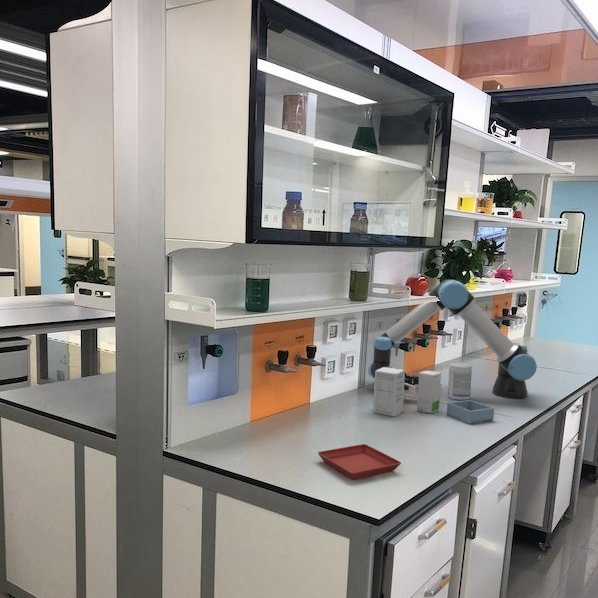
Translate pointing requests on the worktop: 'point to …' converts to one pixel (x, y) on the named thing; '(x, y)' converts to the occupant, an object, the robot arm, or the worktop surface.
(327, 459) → the plant saucer
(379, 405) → the supplement box
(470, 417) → the crate
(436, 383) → the skincare box
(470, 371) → the supplement tub
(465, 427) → the worktop surface
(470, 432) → the worktop surface
